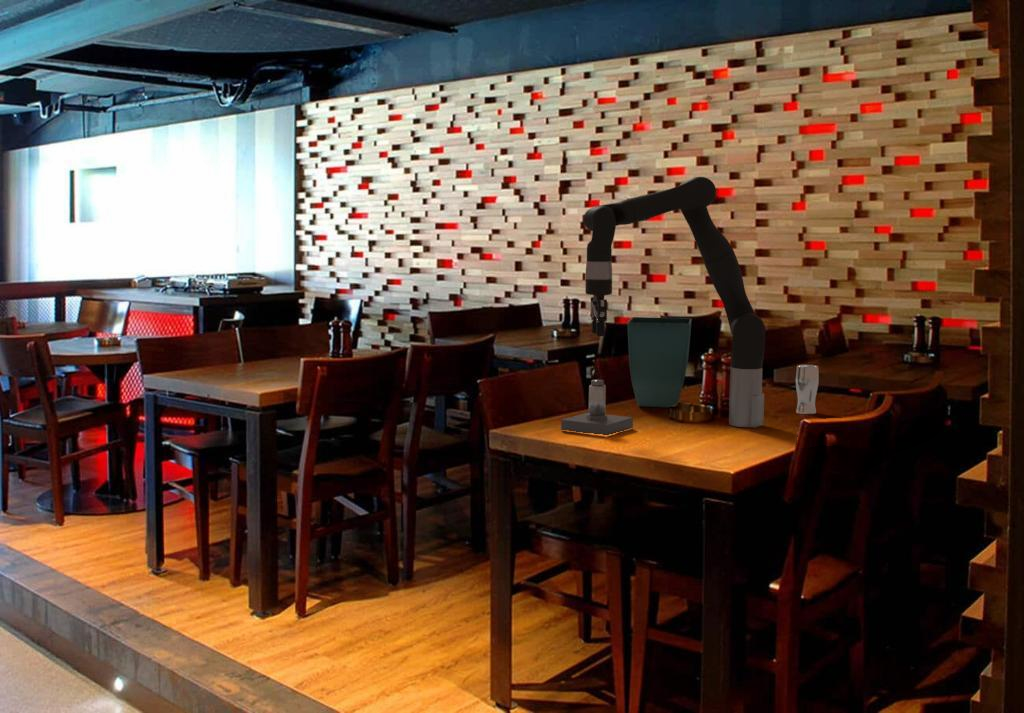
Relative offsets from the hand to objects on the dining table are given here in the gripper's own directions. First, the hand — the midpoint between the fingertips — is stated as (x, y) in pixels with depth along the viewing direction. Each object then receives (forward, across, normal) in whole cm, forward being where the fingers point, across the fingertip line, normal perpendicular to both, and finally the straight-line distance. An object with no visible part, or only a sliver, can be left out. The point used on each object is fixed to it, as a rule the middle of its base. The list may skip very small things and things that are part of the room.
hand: (598, 334), depth 291 cm
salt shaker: (+24, 0, 0) cm, 24 cm away
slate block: (+28, 0, 0) cm, 28 cm away
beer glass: (+28, +25, -71) cm, 80 cm away
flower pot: (+28, +44, -27) cm, 59 cm away
